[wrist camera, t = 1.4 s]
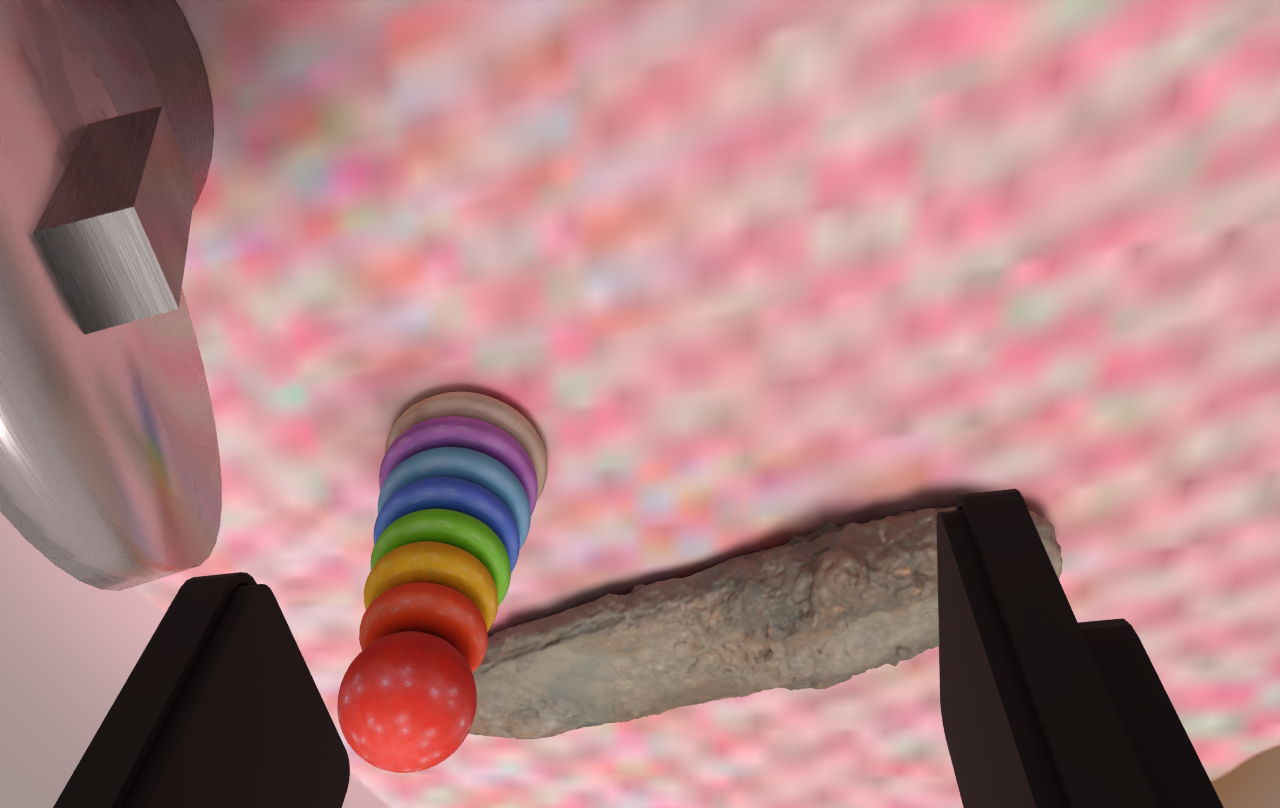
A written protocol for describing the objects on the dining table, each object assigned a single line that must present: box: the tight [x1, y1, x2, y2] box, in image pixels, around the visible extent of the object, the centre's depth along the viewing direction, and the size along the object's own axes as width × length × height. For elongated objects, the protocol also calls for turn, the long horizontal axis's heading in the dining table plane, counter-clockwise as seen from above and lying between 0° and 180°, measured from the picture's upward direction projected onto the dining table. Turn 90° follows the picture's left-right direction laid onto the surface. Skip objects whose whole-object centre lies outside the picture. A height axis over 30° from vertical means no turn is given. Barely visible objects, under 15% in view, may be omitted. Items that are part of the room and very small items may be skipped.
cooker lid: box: [0, 0, 222, 591], centre depth 26 cm, size 18×18×4 cm
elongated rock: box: [469, 506, 1062, 739], centre depth 57 cm, size 35×5×10 cm
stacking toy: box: [338, 392, 547, 773], centre depth 46 cm, size 8×8×19 cm
